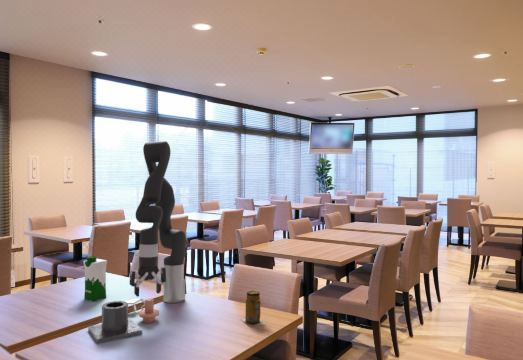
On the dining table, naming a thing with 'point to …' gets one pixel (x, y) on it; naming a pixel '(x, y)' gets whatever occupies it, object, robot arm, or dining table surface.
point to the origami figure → (134, 303)
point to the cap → (149, 312)
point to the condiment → (253, 309)
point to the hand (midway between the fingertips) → (147, 294)
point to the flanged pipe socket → (114, 323)
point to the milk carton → (95, 278)
